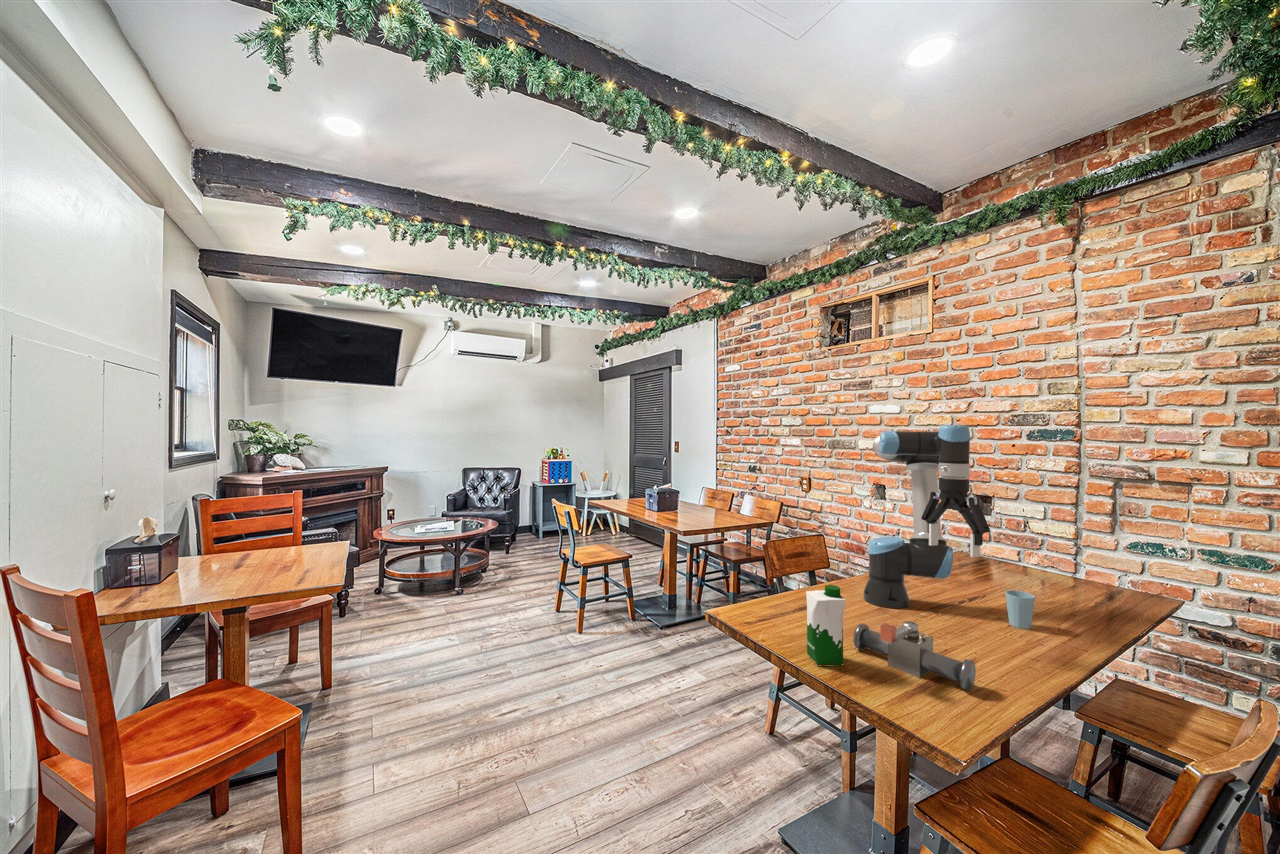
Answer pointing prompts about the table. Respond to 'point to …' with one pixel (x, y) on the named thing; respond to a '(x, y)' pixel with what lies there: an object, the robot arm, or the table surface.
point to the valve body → (916, 656)
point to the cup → (1020, 608)
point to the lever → (897, 631)
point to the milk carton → (825, 625)
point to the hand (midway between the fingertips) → (953, 550)
